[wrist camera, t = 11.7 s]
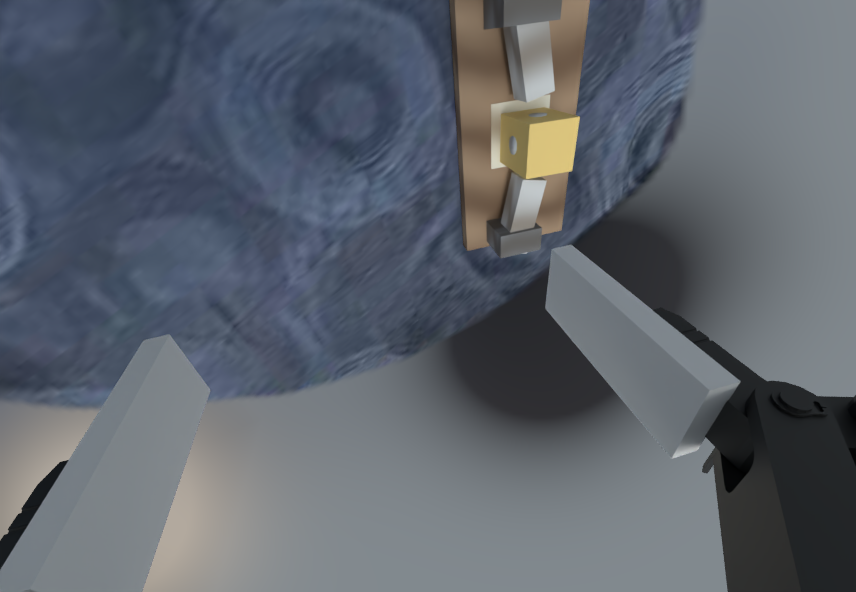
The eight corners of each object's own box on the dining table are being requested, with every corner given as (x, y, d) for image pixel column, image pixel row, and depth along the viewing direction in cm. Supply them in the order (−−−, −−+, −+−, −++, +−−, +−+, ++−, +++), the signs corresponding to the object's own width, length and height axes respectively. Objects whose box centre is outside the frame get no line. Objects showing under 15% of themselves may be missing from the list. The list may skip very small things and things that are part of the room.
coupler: (500, 113, 34) (529, 124, 29) (545, 106, 34) (580, 115, 30) (499, 162, 37) (525, 180, 32) (540, 155, 37) (572, 171, 32)
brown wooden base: (448, -17, 29) (471, -29, 24) (583, -33, 30) (629, -47, 26) (463, 245, 43) (479, 268, 38) (555, 225, 44) (581, 245, 40)
